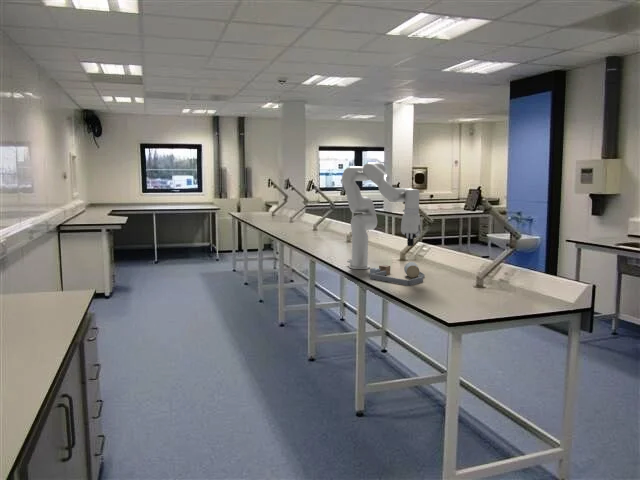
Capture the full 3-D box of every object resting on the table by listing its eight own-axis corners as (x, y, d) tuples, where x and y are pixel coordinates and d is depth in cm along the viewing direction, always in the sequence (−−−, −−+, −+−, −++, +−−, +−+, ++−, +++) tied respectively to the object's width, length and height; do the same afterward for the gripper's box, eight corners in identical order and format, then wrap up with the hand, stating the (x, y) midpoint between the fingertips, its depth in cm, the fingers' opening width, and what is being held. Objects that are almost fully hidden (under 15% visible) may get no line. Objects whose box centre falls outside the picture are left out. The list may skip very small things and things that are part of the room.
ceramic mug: (406, 278, 276) (406, 264, 275) (403, 275, 284) (404, 261, 283) (425, 279, 276) (426, 264, 275) (423, 276, 284) (423, 262, 283)
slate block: (369, 275, 282) (370, 268, 281) (374, 274, 285) (374, 267, 284) (375, 276, 279) (375, 269, 279) (380, 275, 282) (380, 268, 281)
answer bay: (369, 278, 274) (369, 273, 273) (384, 275, 284) (384, 270, 283) (408, 285, 257) (408, 280, 257) (422, 281, 267) (423, 277, 267)
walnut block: (378, 273, 288) (379, 265, 288) (383, 272, 292) (383, 264, 291) (385, 274, 285) (385, 266, 285) (390, 273, 289) (390, 265, 288)
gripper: (395, 211, 278) (394, 245, 280) (419, 213, 268) (418, 247, 270) (403, 210, 283) (402, 243, 285) (427, 212, 273) (426, 246, 275)
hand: (410, 245), depth 278 cm, fingers closed
